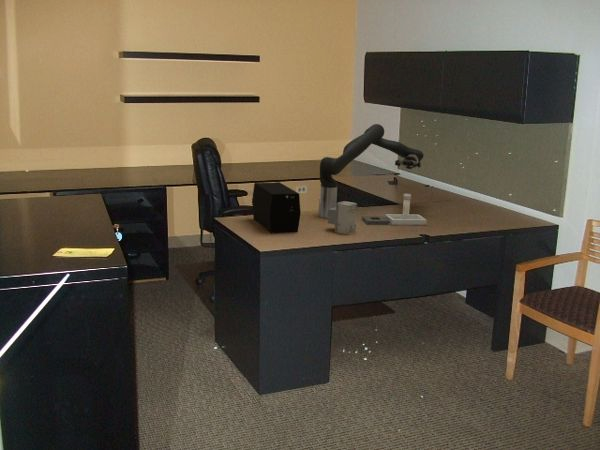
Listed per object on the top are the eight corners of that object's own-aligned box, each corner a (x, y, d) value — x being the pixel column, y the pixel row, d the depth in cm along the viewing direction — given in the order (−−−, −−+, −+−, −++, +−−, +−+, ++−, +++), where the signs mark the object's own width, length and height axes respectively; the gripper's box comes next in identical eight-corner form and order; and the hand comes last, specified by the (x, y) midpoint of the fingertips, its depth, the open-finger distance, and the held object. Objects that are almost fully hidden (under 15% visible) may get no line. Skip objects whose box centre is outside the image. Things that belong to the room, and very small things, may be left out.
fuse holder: (367, 224, 357) (367, 221, 356) (361, 219, 368) (361, 215, 368) (388, 224, 359) (388, 221, 358) (382, 219, 370) (382, 216, 370)
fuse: (402, 221, 363) (405, 195, 360) (400, 220, 367) (402, 193, 363) (409, 221, 364) (412, 195, 360) (407, 220, 368) (409, 193, 364)
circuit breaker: (332, 227, 348) (333, 199, 345) (355, 231, 341) (357, 203, 337) (324, 229, 342) (325, 201, 339) (348, 234, 335) (350, 205, 331)
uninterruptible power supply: (280, 217, 365) (281, 182, 360) (300, 233, 334) (302, 194, 329) (251, 219, 359) (252, 182, 354) (269, 234, 328) (271, 195, 324)
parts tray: (391, 225, 357) (392, 220, 357) (384, 219, 370) (385, 214, 370) (426, 225, 361) (426, 220, 360) (418, 219, 374) (418, 214, 373)
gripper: (399, 154, 387) (393, 157, 372) (423, 156, 382) (419, 159, 368) (398, 166, 389) (393, 170, 374) (422, 169, 384) (418, 173, 369)
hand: (406, 165), depth 371 cm, fingers open, 8 cm apart
